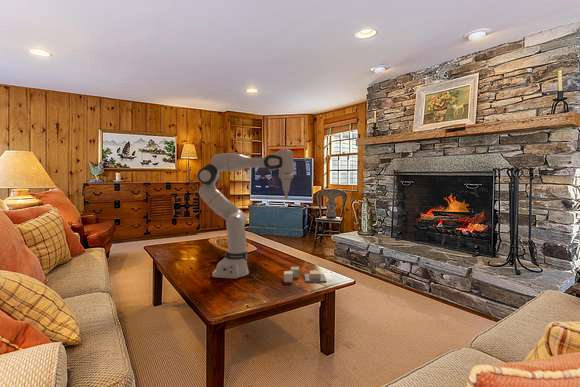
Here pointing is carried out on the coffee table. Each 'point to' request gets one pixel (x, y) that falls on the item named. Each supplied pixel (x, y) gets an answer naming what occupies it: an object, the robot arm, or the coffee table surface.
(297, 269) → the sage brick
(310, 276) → the build pad
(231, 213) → the robot arm
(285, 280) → the cream brick
